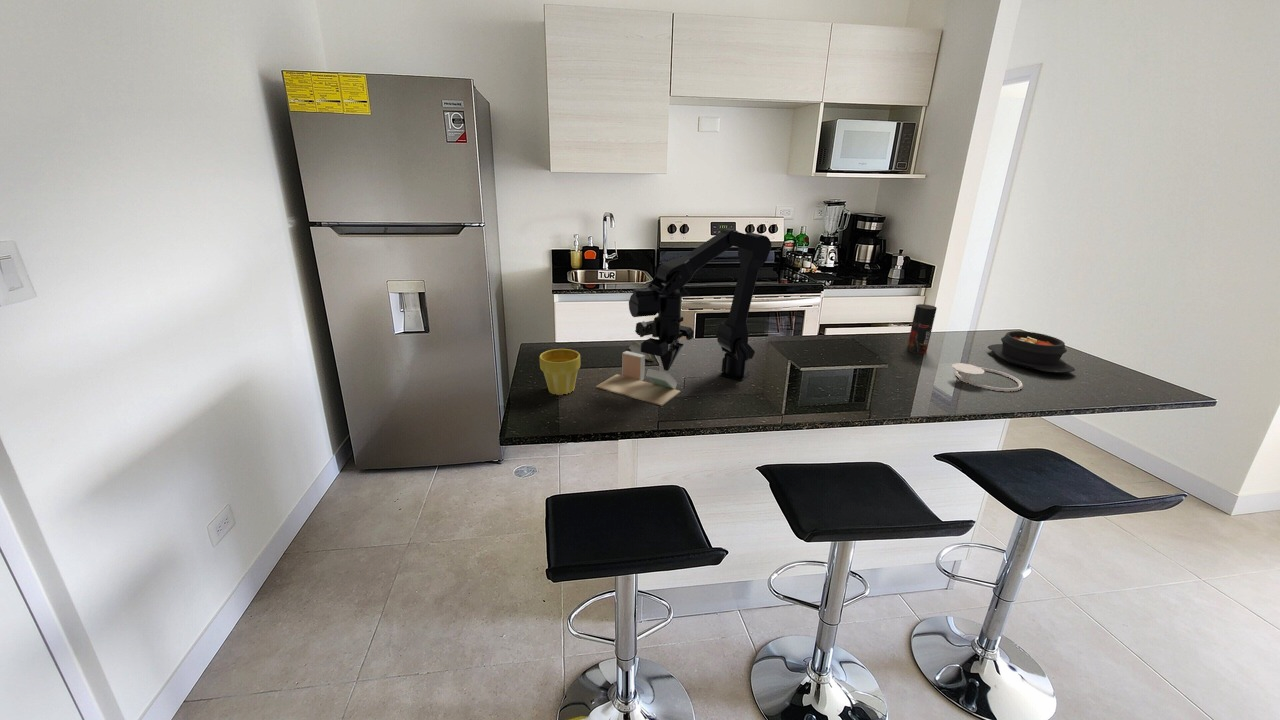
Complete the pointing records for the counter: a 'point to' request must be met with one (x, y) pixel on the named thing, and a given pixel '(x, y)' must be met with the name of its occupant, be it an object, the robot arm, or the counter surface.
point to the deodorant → (921, 328)
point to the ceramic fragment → (636, 349)
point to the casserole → (1033, 351)
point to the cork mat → (638, 389)
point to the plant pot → (560, 369)
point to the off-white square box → (661, 378)
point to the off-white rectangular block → (633, 365)
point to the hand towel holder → (975, 370)
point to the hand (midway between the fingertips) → (666, 370)
